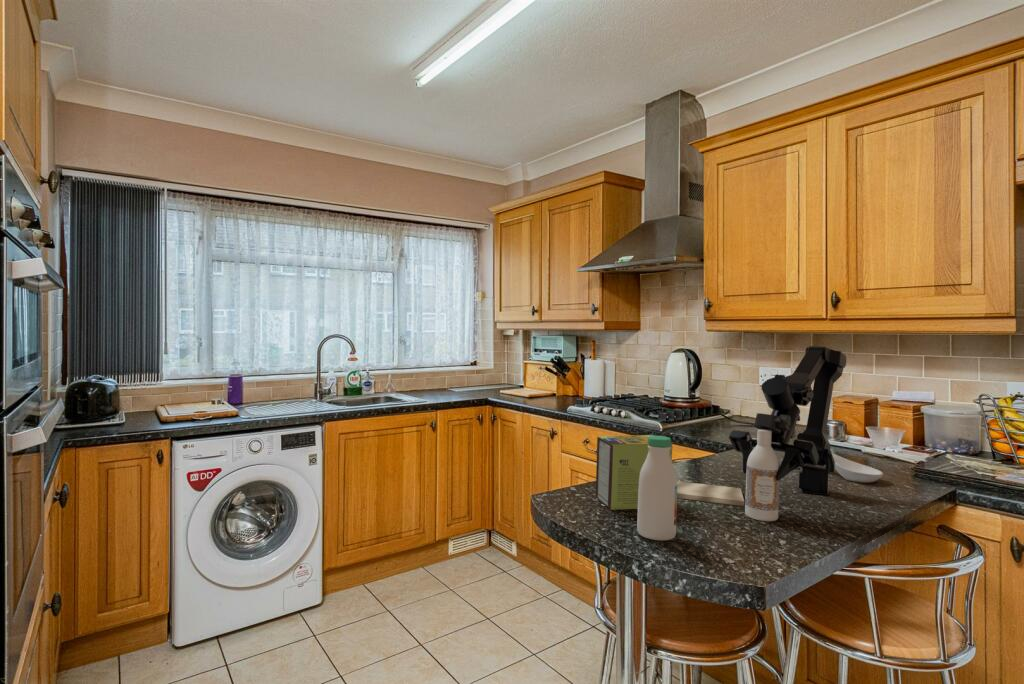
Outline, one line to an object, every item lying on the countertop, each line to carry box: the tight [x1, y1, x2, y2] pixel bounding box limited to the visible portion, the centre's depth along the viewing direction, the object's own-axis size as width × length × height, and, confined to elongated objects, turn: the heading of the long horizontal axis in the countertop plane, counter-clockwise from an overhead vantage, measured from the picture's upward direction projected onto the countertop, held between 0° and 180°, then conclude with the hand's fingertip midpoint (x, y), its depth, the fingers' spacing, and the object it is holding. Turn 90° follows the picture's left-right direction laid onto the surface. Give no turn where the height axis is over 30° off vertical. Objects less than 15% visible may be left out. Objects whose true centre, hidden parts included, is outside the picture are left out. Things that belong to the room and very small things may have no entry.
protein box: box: [595, 434, 673, 511], centre depth 132 cm, size 10×15×16 cm
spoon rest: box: [795, 452, 884, 484], centre depth 164 cm, size 24×12×7 cm, turn 42°
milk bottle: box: [636, 435, 678, 542], centre depth 111 cm, size 8×8×20 cm
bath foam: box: [744, 429, 781, 522], centre depth 124 cm, size 7×7×20 cm
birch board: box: [677, 480, 745, 507], centre depth 140 cm, size 16×12×1 cm
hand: (760, 476), depth 123 cm, fingers closed on bath foam, 7 cm apart
